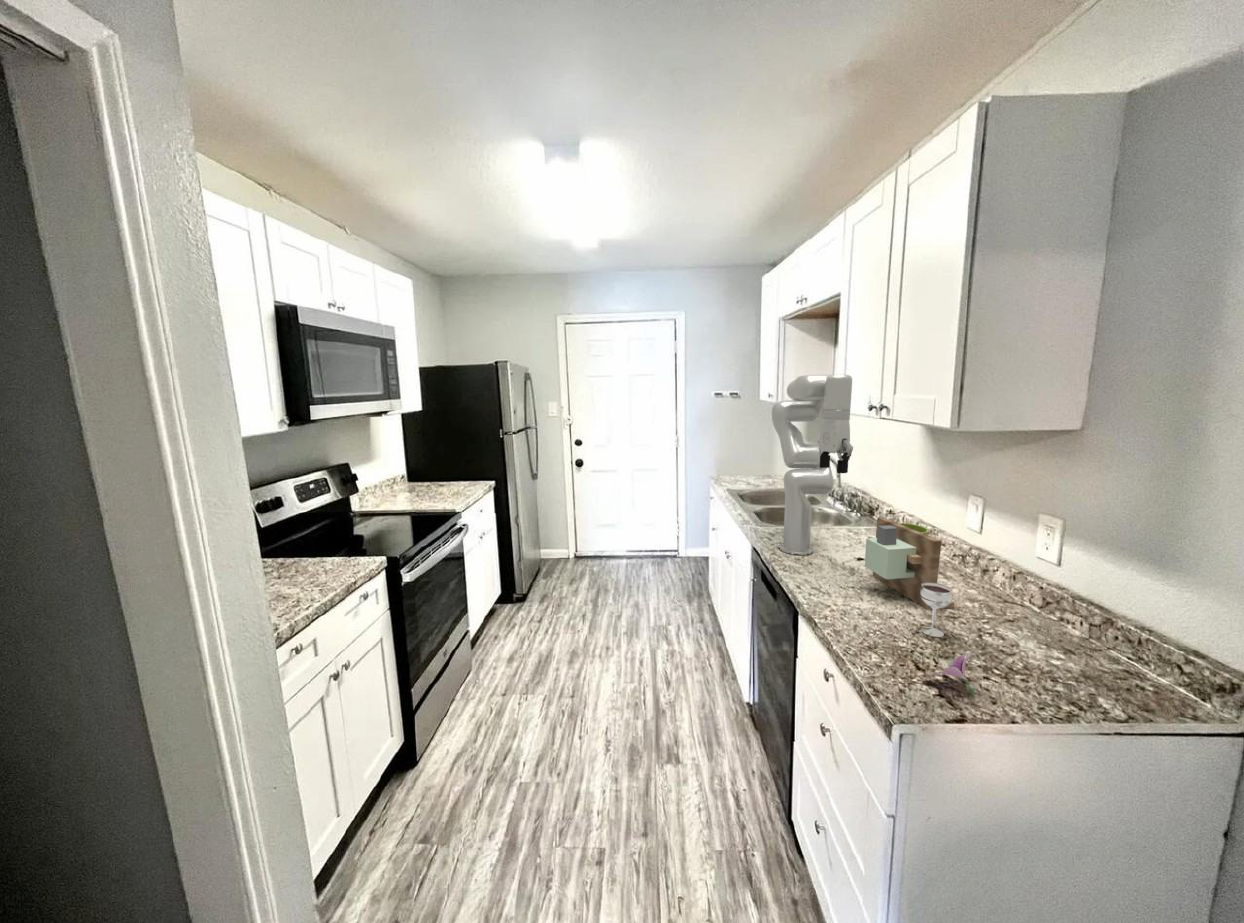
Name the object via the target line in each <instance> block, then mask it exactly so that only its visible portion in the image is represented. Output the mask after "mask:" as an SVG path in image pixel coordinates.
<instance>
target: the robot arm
mask: <svg viewBox="0 0 1244 923" xmlns="http://www.w3.org/2000/svg"><path fill="white" fill-rule="evenodd" d="M852 388H853V377H852V376H851V375H850V374H805V375H799V376H797V377H796V379H794V380H792V381H790V383H789V384H788V386H787V388H786V394H787V396H788V398H789V399H790V400H789V399H785V400H781V401H777V402H775V403H774V404H773V405H772V409H771V421H772V425H773V426H774V429H775V432H776V433H777V435H778V438H779V442H780V447H781V453H782V457H783V462H784V466H786V467H787V468H788V469H790V470H787V471H786V472H785V473H784V475H783V487H784V518H783V519H784V520H783V535H782V536H781V537H782V538H783V542H781V543H780V544H779V545H778V549H779V548H780V549H779V550H780V551H781V550H782V551H781V552H782V553H785V552H786V553H785V554H788V553H793V554H799V555H798V556H808V555H807V554H809V555H812V554H813V553H814V551H815V549H814V547H813V546H811V527H812V510H813V509H812V504H811V502H810V500H809V499H808V497H807V495H827V494H830V493H831V492H832V491H833V488H834V485H835V484H834V476H833V472H832V467H831V455H830V454H836V455H837V457H838V458H837V462H836V463H837V464H836V474H848V471H849V461H850V458H851V456H852V453H853V450H854V446H853V445H852V444H851V425H850V419H851V407H852V406H851V405H852V403H851V402H852V393H853V392H852V391H853V389H852ZM822 411H823V414H822V415H823V416H822V420H821V425H820V428H819V437H818V438H819V439H818V440H817V443H805V441H804V439H803V438H804V437H803V434H802V432H801V431H800V429H799V428H798V427H797V426H796V425H794V424H793V423H792V422H798V423H800V422H802V423H803V422H804V423H805V422H814V421H815V422H816V420H817V419H818V418H819V417H820V415H821V413H822ZM811 553H812V554H811ZM793 554H792V555H793Z"/></svg>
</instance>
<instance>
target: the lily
mask: <svg viewBox="0 0 1244 923" xmlns="http://www.w3.org/2000/svg"><path fill="white" fill-rule="evenodd" d="M979 651H981V649H978V650H977V651H974V652H972V653H967V654H965V653H963V654H960V655H959V656H958V657H954V659H953V660H952V659H949V658H945V659H943V661H945V662H946V663H948V664H949V665H948V667H947V668H945V669H943V670H942V671H940V672H935V673H933V674H931V675H929V676H928V677H927V678H925V679H923V682H925V681H926V680H928V679H929V678H932V677H933V676H935V675H936V676H938V675H942V676H943V675H946V676H951V677H957V678H961V679H963V681H964V682H965V683H966V685H967V686H968V688H969V690H970V693H971V694H972V696H973V698H974V697H976V696H975V693H974V691H973V688H972V687H971V686H970V684H969V682H968V680H967V679H966V677H965V667H966V664H967V661H968V660H969V659H970V658H971V657H972V656H973V655H975V654H976V653H978V652H979ZM950 660H951V661H950Z"/></svg>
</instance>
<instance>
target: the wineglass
mask: <svg viewBox="0 0 1244 923" xmlns="http://www.w3.org/2000/svg"><path fill="white" fill-rule="evenodd" d="M921 586H922V589H921V590H920V596H921V599H922V600H923V601H924V602H925V603H926V604H927V605H929V606H931V608H932V609H931V610H932V612H931V613H932V616H931V626H923V627H921V628H920V631H921V632H922V633H924V634H925V635H928V636H931V637H934V638H941V637H943V636H945V635H944V634H945V633H944V632H943V631H941V630H940V629H937V628H935V627H934V626H935V620H936V615H937V614H936V613H937V610H939V609H938V608H944V607H946V606H948V605H949V604H950V603H951V601H952V602H953V595H952V593H953V591H954V590H953V588H951V587H950V586H949V585H946V584H943V583H939V582H937V583H934V582H924V583H922V584H921ZM944 609H945V608H944Z"/></svg>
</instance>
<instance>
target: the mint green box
mask: <svg viewBox="0 0 1244 923" xmlns="http://www.w3.org/2000/svg"><path fill="white" fill-rule="evenodd" d="M865 540H866V541H865V553H864V554H865V555H864V568H867V569H868V570H870V571H871V572H872V573H873V572H875V573H876V574H878V575H880V576H881V577H883V578H885V579H898V578H911V577H914V574H915V572H913V571H911V570H909V569H907V568H906V564H907V555H914V554H916V550H917V548H916V547H914V546H912V545H910V544H907V543H905V542H903V541H901V540H899V539H897V528H896V527H893V526H891V525H886V526H878V532H877V538H876V537H871V538H869V537H868V538H866V539H865Z"/></svg>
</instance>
